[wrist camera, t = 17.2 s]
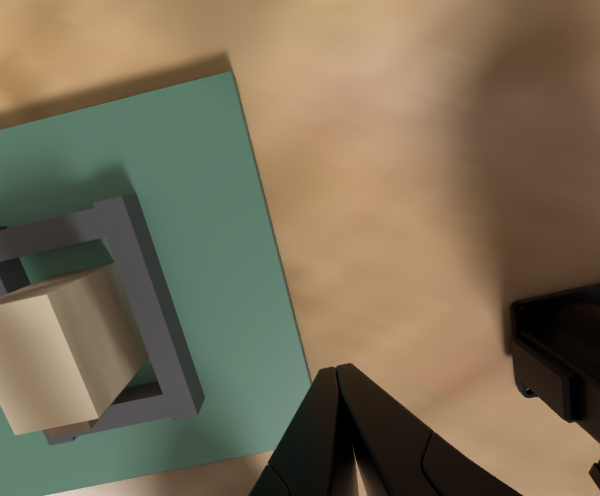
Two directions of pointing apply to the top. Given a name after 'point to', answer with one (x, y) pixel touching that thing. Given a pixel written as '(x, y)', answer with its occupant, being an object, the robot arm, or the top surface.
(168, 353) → the socket board
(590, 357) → the robot arm
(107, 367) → the plug
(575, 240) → the top surface
